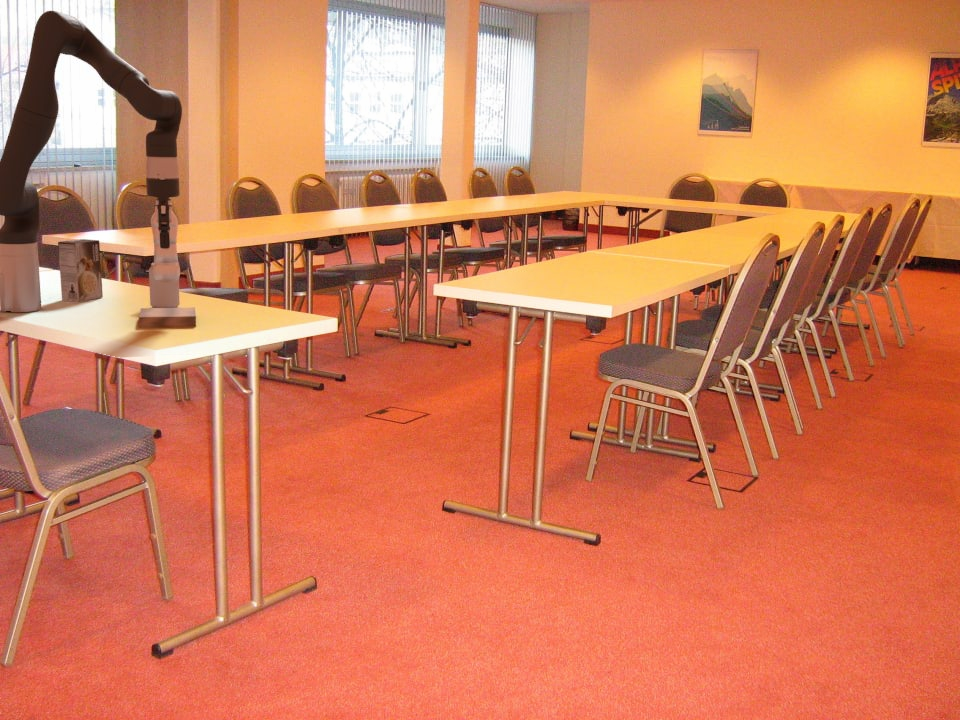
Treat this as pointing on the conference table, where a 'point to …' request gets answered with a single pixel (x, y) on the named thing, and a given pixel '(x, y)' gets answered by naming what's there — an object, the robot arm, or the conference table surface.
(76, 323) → the conference table surface
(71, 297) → the coffee box
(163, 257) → the plastic bottle
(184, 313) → the walnut block
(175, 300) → the can
